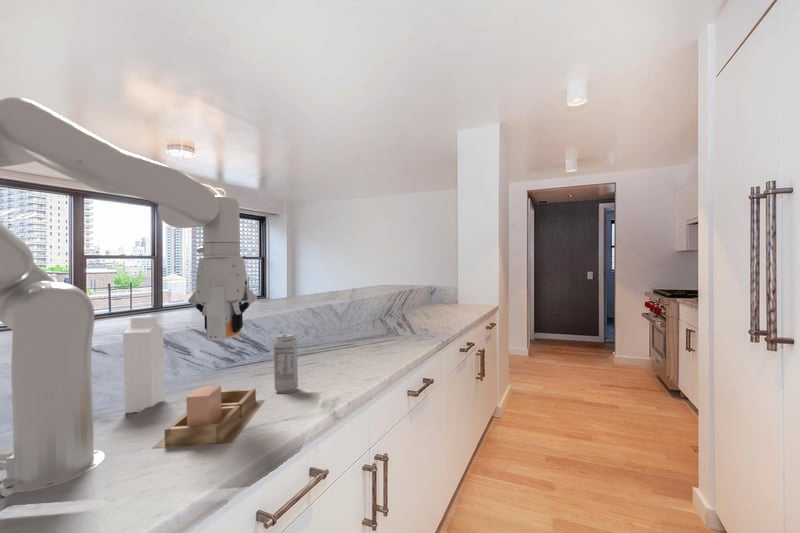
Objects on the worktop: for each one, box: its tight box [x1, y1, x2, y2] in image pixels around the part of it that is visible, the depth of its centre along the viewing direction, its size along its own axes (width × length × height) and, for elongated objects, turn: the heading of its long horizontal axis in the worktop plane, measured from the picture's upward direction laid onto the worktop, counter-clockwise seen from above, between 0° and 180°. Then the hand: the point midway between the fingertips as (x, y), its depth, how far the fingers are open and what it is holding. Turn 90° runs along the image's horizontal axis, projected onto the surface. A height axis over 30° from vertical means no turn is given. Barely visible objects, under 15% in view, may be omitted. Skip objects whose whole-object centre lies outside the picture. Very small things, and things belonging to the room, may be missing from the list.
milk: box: [122, 316, 166, 414], centre depth 90 cm, size 6×6×22 cm
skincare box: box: [206, 286, 240, 342], centre depth 83 cm, size 6×4×12 cm
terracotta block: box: [185, 385, 222, 426], centre depth 73 cm, size 4×6×8 cm, turn 5°
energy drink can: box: [273, 333, 299, 395], centre depth 100 cm, size 6×6×15 cm
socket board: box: [152, 388, 266, 449], centre depth 78 cm, size 14×22×4 cm, turn 5°
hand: (224, 331), depth 83 cm, fingers closed on skincare box, 5 cm apart
